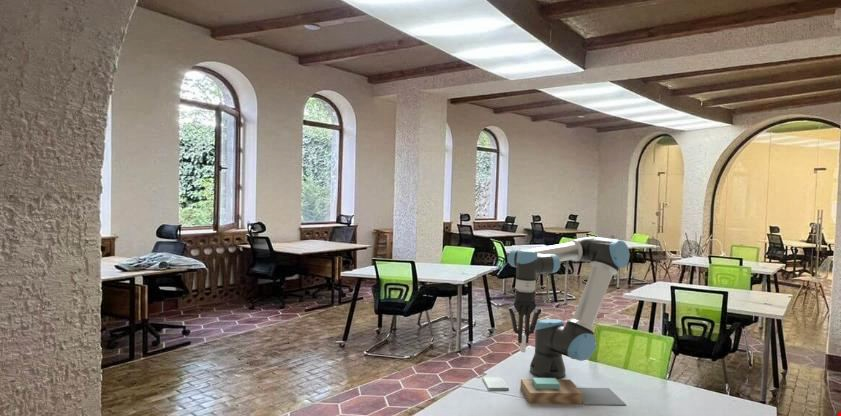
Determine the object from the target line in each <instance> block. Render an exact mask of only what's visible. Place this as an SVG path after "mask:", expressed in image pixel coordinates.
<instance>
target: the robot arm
mask: <svg viewBox="0 0 841 416" xmlns="http://www.w3.org/2000/svg"><path fill="white" fill-rule="evenodd" d="M629 260H630V250H629V246H628V245H627V243H626V241H623V240H622V239H621V240H620V239H616V238H608V237H601V236H600V237H599V236H586V237H579V238H574V239H570V240H568V241H567V242H565V243H559V244H553V245H546V246H540V247H535V248H534V247H533V248H529V249H528V248H527V249H520V248H515V249H511V250H510V251H509V253H508V254H507V263H508V264H509V265H510V266H511V267H513V268H516V272H515V273H516V274H515V275H516V276H515V277H516V278H515V291H514V292H515V294H514V295H515V297H514V303H513V304H512V306H510V307H509V306H508V307H507V311H508V312H509V313H510V319H511V326H512V330H513V333H515V334H517V342H518V344H519V351H520V352H521V353H526V351H527V349H526V348H527V347H526V344H529V336H530V335H531V334H534V333H535V334H534V336H535V337H534V355H533V357H532V360H531V362H530V365H529V371H530V373H531V374H533V375H534V376H537V377H539V378H555V379H560V378H564V377H565V376H566V365H565V362H564V359H563V356H565V357H568V358H570V359H572V360H576V361H581V362H582V361H585V360H589V358H590V357H592V356H593V354H594V353H595V350H596V347H597V344H596V343H597V340H596V336H594V335H595V330H594V328H593V327H594V324H595V322H596V319H597V318H598V314H599V311H600V308H601V306H602V303H603V301H604V298H605V296H606V293H607V290H608V288H609V285H610V283H611V280H612V278H613V276H614V275H615V276H616V275H617V274H618V273H619V271H620V269H623V268H625V267H626V266H628V264H629V262H630V261H629ZM565 261H572V262H579V261H580V262H587V263H588V262H589V263H590V265H591V268H592V269H591V271H590V273H589V276H588V278H587V281H586V284H585V285H584V289H583V291H582V294H581V296H580V298H579V301H578V304H577V306H576V309H575V311H574V313H573V316H572V318H571V319H568V320H567V321H566V323H564V320H562V319H559V318H558V319H556V318H547V319H546V318H545V319H540V320H538V319H539V315H540V314H541V313H542V309H541V308H539V307H537V304H536V283H537V275H544V274H545V275H546V274H553V273H557V272H558V271H559V270H560V268H561V262H565ZM533 311H534V313H533ZM515 312H517V313H518V314H517V315H518V323H517V320H516V316H515V315H516V314H515ZM532 313H533V314H532ZM531 314H532V315H533V316H532V319H531ZM530 320H531V321H530ZM523 329H524V333H523Z"/></svg>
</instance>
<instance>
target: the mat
mask: <svg viewBox="0 0 841 416" xmlns="http://www.w3.org/2000/svg"><path fill="white" fill-rule="evenodd" d="M577 388H578V389H579V390H580V391H581V392H582V393H583V394H582V405H584V406H627V404H626V403H625V401H624V400H622V399H621V398H620V397H619V396H618V395H617V394H616V393H615V392H614V391H612V389H610V387H577Z"/></svg>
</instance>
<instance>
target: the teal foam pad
mask: <svg viewBox="0 0 841 416" xmlns="http://www.w3.org/2000/svg"><path fill="white" fill-rule="evenodd" d="M531 379H532V383H533V385H534V386H535V388H536V389H560V384H559V382H558V381H557V380H556V379H557V378H544V377H532V378H531Z"/></svg>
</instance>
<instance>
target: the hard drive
mask: <svg viewBox="0 0 841 416" xmlns="http://www.w3.org/2000/svg"><path fill="white" fill-rule="evenodd" d="M482 381H483V383H484V385H485V386H486V388H487V390H488V391H510V388H509V386H508V385H507V383H506V382H505V380H504V379H503V377H502V376H482Z"/></svg>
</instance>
